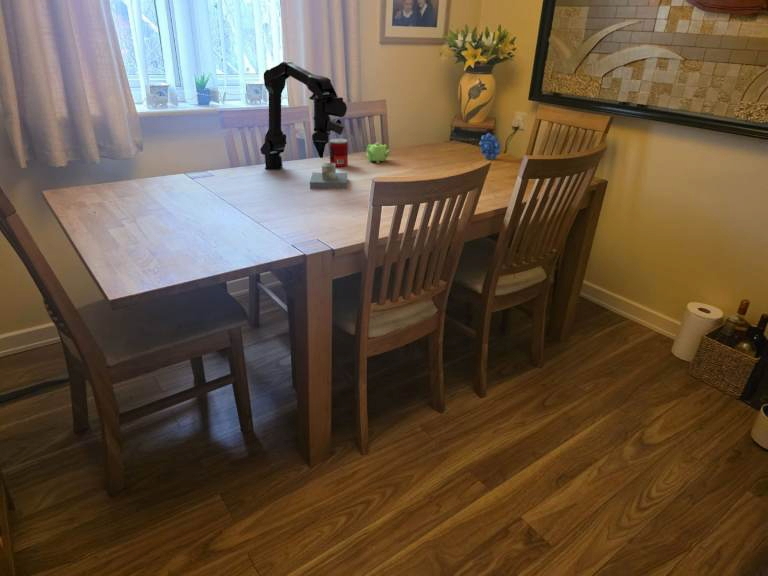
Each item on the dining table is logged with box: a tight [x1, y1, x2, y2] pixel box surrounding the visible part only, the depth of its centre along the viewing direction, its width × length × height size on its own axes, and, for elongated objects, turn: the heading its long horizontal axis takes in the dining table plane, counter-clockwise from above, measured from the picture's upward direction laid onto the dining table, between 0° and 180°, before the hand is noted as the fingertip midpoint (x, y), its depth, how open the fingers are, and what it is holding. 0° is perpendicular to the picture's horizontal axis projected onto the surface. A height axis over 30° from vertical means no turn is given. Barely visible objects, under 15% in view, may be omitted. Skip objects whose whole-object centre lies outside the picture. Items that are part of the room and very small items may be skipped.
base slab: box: [309, 172, 348, 190], centre depth 201 cm, size 14×14×2 cm
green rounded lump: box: [365, 142, 392, 164], centre depth 234 cm, size 11×12×8 cm
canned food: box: [329, 138, 349, 168], centre depth 225 cm, size 8×8×11 cm
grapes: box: [478, 132, 502, 160], centre depth 243 cm, size 12×7×12 cm, turn 50°
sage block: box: [321, 162, 337, 179], centre depth 199 cm, size 5×5×5 cm
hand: (322, 154), depth 200 cm, fingers open, 9 cm apart
